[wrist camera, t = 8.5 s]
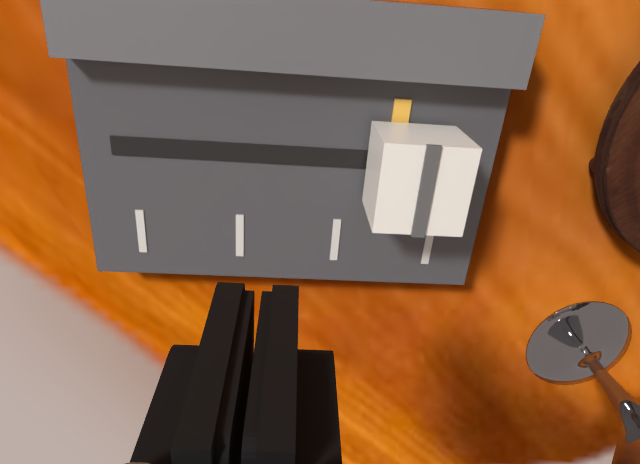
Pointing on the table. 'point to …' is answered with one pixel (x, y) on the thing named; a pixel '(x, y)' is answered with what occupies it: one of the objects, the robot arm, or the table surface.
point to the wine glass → (589, 361)
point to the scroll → (621, 162)
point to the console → (274, 127)
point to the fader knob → (419, 179)
